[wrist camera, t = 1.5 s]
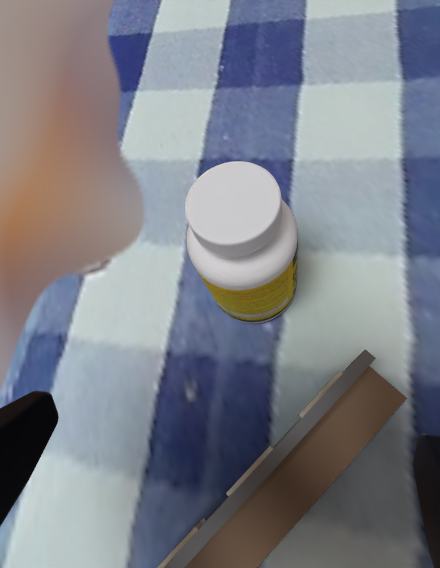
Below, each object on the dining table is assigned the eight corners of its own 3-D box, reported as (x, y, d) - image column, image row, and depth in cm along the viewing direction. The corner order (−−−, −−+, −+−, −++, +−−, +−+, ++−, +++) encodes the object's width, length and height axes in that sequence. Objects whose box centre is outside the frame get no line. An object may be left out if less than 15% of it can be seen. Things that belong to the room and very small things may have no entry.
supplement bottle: (310, 306, 22) (322, 230, 13) (229, 337, 22) (186, 283, 13) (277, 236, 24) (268, 128, 15) (204, 265, 25) (152, 176, 16)
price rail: (187, 637, 17) (163, 688, 14) (148, 576, 19) (117, 610, 15) (398, 399, 19) (420, 396, 16) (351, 358, 21) (361, 346, 17)
